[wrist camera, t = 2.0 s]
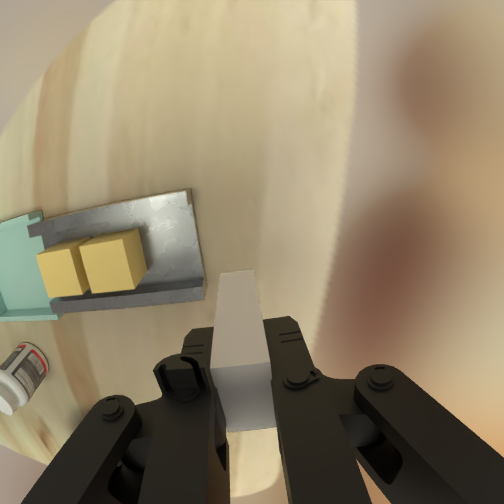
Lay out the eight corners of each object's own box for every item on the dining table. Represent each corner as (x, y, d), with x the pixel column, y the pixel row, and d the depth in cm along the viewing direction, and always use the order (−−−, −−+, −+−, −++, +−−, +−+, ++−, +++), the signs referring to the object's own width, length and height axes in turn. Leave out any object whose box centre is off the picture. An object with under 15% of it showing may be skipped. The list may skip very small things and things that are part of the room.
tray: (8, 312, 26) (-2, 321, 24) (-17, 228, 23) (-30, 233, 21) (68, 308, 27) (58, 319, 24) (41, 209, 23) (27, 214, 21)
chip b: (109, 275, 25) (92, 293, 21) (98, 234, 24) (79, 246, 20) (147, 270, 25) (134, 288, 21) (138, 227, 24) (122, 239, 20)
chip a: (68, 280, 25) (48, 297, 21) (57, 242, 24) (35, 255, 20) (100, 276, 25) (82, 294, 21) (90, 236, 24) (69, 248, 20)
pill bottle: (23, 365, 29) (-9, 408, 19) (16, 336, 27) (-23, 377, 18) (52, 379, 30) (22, 426, 20) (46, 349, 28) (9, 397, 19)
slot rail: (65, 300, 26) (52, 313, 23) (43, 219, 24) (26, 225, 21) (207, 285, 27) (204, 299, 24) (190, 188, 24) (185, 191, 21)
